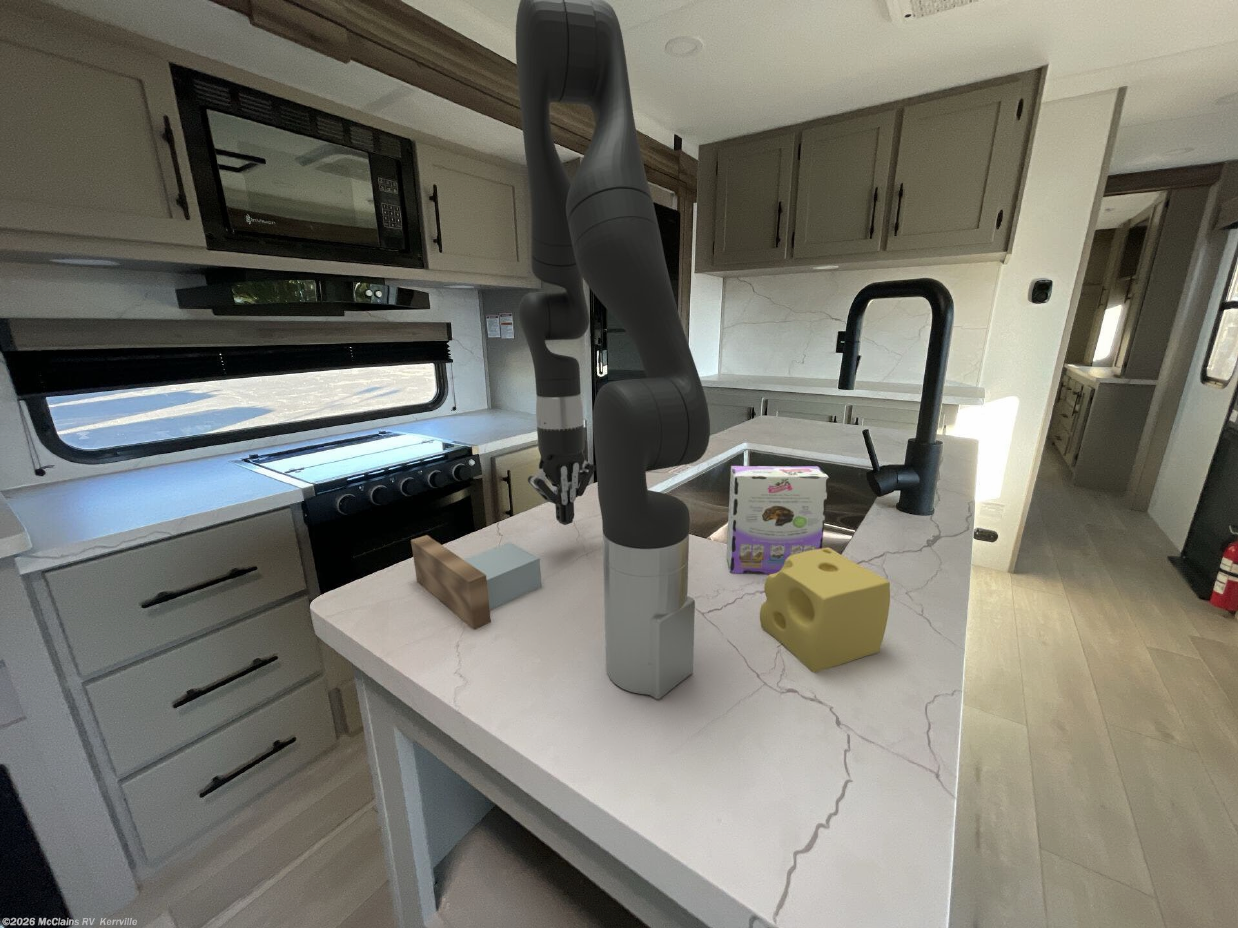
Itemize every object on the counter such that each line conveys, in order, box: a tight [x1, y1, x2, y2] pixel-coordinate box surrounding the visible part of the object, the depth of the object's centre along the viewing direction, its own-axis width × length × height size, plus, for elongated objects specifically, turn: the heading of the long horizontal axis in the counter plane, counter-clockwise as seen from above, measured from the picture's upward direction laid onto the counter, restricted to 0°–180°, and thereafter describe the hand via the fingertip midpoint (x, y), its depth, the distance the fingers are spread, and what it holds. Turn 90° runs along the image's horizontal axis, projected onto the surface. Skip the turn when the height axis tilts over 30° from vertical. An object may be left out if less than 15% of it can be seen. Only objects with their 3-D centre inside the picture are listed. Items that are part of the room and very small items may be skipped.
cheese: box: [759, 547, 891, 673], centre depth 61 cm, size 10×11×10 cm
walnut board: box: [410, 534, 492, 630], centre depth 71 cm, size 18×2×7 cm, turn 44°
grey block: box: [462, 541, 542, 611], centre depth 74 cm, size 8×10×5 cm
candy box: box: [726, 465, 830, 575], centre depth 78 cm, size 14×6×16 cm, turn 84°
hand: (565, 522), depth 85 cm, fingers closed
